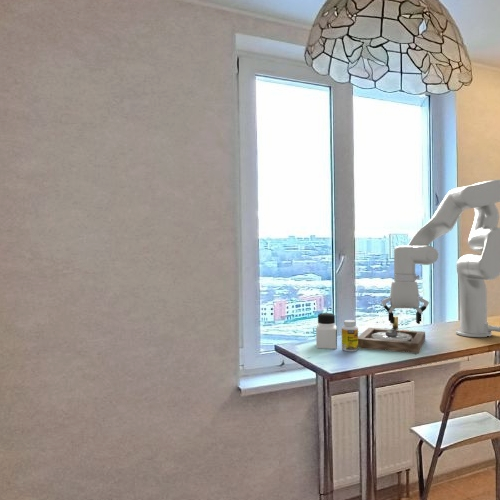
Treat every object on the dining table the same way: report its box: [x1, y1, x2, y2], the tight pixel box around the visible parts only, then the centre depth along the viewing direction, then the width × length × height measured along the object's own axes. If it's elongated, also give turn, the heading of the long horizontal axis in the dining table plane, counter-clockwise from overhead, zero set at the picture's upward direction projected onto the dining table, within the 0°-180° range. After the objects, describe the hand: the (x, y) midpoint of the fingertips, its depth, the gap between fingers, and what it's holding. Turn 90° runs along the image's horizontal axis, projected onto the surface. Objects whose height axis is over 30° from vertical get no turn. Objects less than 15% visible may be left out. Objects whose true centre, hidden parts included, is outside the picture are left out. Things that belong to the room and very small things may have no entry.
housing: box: [358, 327, 426, 354], centre depth 160 cm, size 21×21×3 cm
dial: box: [372, 315, 412, 342], centre depth 161 cm, size 16×14×7 cm
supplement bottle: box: [341, 319, 359, 353], centre depth 152 cm, size 6×6×10 cm
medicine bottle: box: [315, 312, 338, 350], centre depth 158 cm, size 7×7×12 cm
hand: (404, 323), depth 166 cm, fingers open, 9 cm apart
